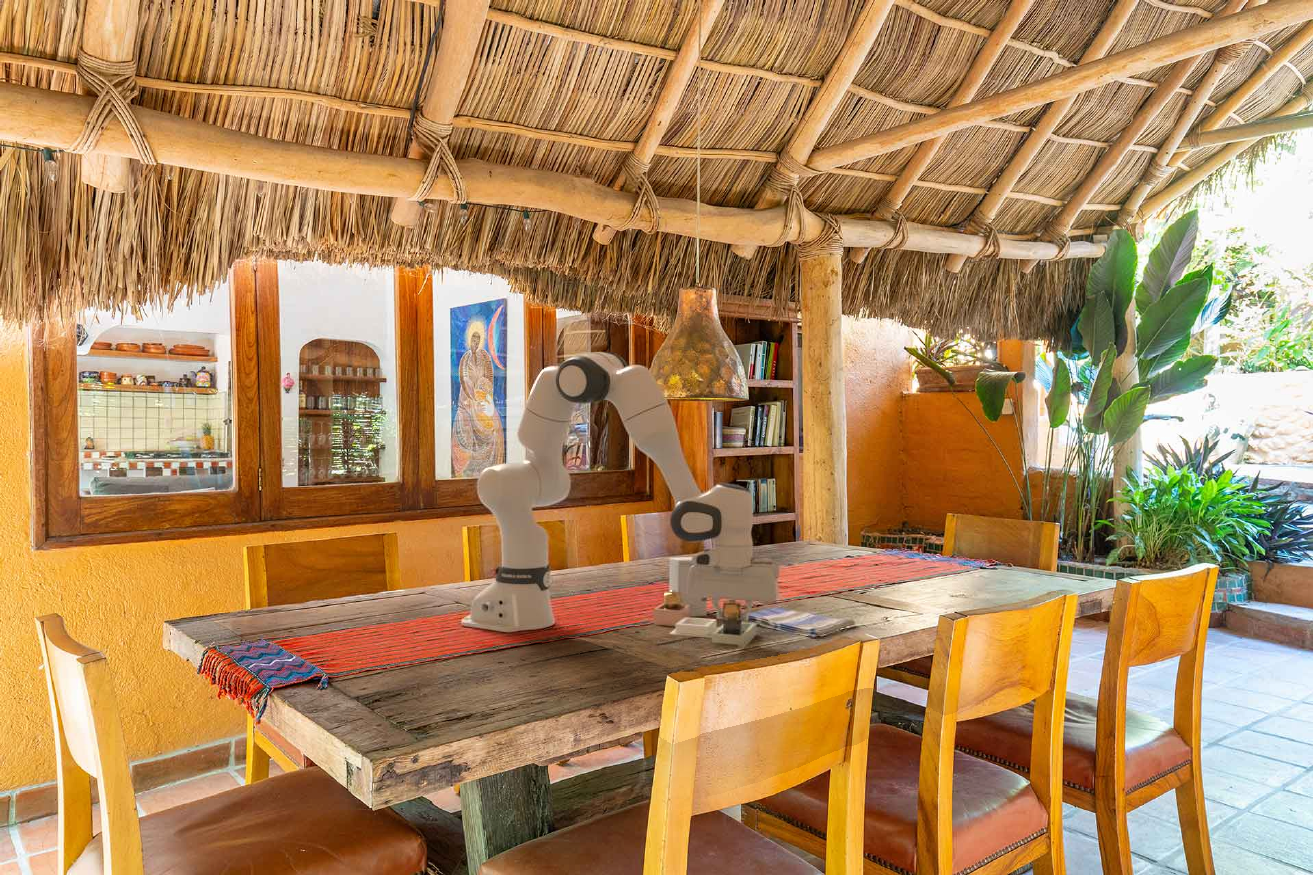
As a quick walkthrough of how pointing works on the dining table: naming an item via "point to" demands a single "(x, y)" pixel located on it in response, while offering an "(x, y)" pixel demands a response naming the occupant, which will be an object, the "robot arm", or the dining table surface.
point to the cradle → (695, 627)
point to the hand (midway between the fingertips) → (732, 619)
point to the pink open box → (670, 615)
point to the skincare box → (685, 585)
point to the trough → (736, 639)
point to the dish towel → (798, 622)
